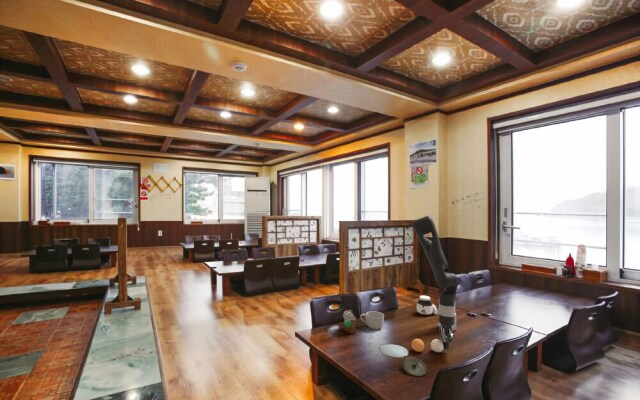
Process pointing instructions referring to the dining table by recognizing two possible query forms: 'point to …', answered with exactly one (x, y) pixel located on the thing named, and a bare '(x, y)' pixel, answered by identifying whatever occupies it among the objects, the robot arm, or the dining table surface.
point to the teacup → (373, 319)
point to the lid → (414, 366)
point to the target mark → (394, 350)
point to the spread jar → (426, 306)
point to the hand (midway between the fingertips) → (445, 348)
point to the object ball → (417, 345)
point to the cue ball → (437, 345)
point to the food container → (349, 321)
